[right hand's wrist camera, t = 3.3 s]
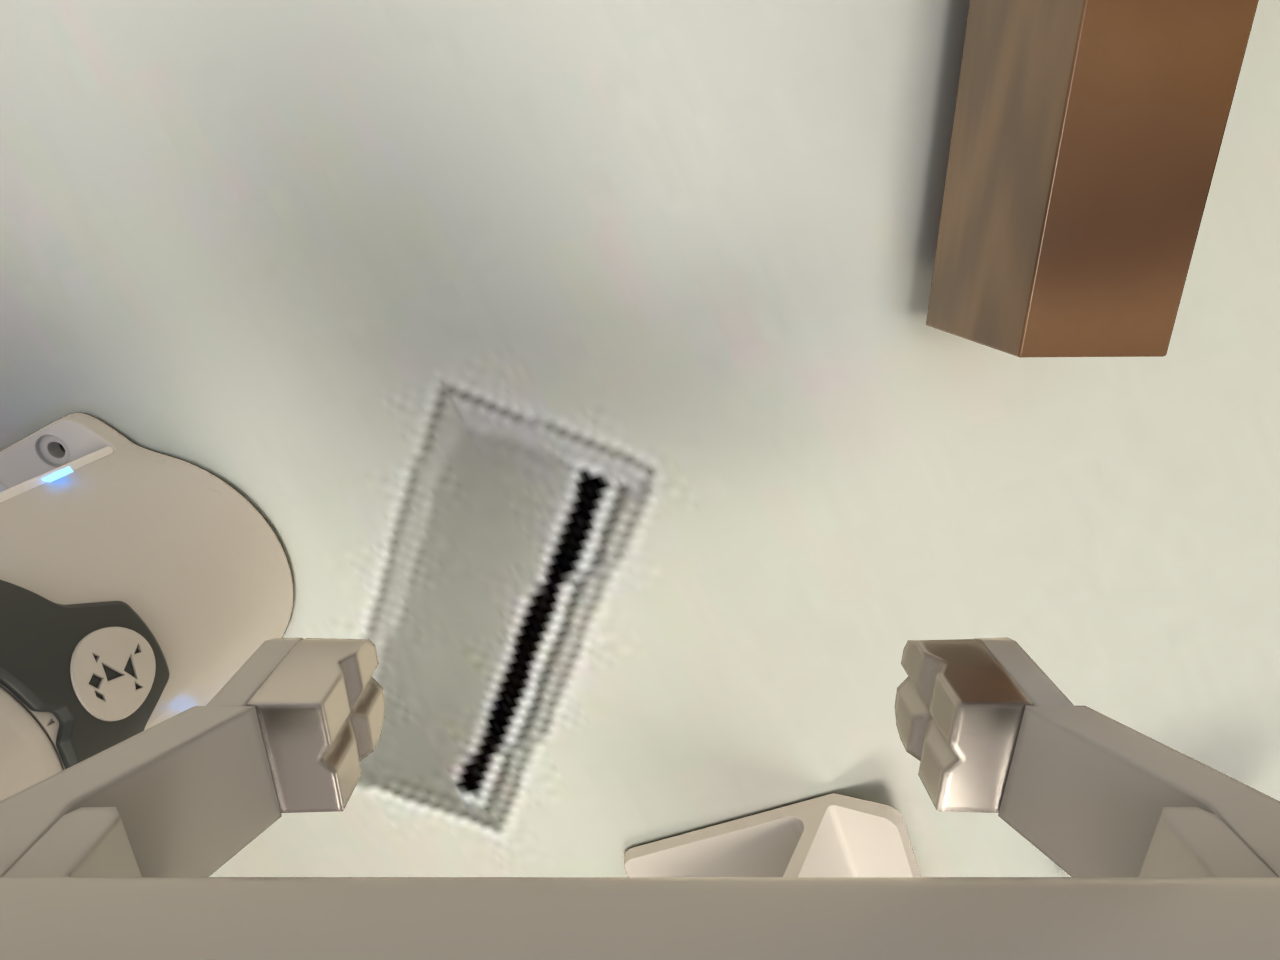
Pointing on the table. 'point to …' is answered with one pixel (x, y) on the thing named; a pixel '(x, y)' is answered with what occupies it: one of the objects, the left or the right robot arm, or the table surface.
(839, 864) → the tablet stand
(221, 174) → the table surface
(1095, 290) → the bar
